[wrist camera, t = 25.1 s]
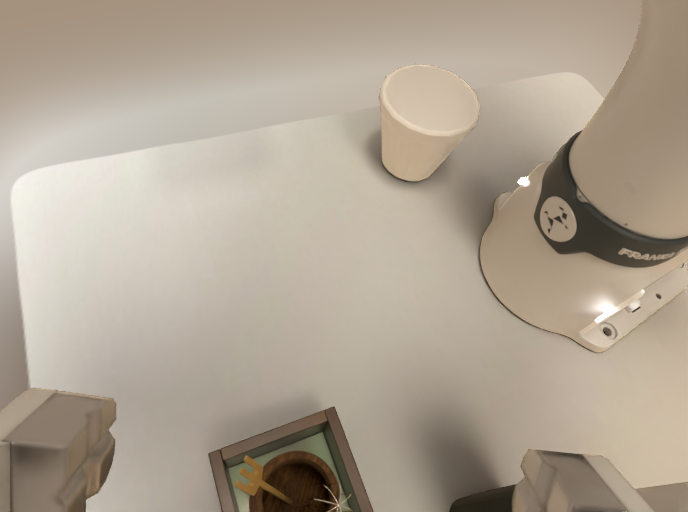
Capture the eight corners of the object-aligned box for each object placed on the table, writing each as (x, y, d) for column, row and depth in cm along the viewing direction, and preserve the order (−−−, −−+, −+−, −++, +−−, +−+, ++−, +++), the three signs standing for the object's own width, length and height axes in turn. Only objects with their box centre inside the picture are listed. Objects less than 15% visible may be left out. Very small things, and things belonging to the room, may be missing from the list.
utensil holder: (322, 562, 32) (345, 574, 22) (234, 536, 33) (217, 536, 22) (343, 471, 36) (372, 445, 25) (262, 448, 36) (259, 412, 25)
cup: (463, 190, 53) (498, 129, 45) (379, 202, 50) (400, 140, 42) (432, 126, 57) (458, 60, 49) (353, 134, 55) (367, 66, 47)
